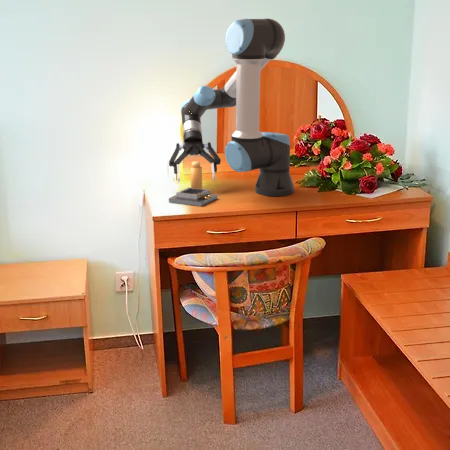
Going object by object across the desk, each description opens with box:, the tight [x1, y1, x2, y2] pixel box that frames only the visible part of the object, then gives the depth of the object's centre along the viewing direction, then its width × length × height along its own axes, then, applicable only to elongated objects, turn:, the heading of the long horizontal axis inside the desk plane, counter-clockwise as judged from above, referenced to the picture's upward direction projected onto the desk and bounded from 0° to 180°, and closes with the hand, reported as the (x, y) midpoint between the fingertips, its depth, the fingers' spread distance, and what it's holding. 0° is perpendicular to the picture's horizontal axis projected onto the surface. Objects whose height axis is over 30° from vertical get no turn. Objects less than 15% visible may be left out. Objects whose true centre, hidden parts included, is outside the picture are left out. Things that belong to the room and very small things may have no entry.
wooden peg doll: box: [189, 161, 203, 189], centre depth 258 cm, size 4×4×12 cm
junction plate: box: [168, 187, 218, 207], centre depth 248 cm, size 14×12×4 cm
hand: (196, 179), depth 256 cm, fingers open, 13 cm apart
